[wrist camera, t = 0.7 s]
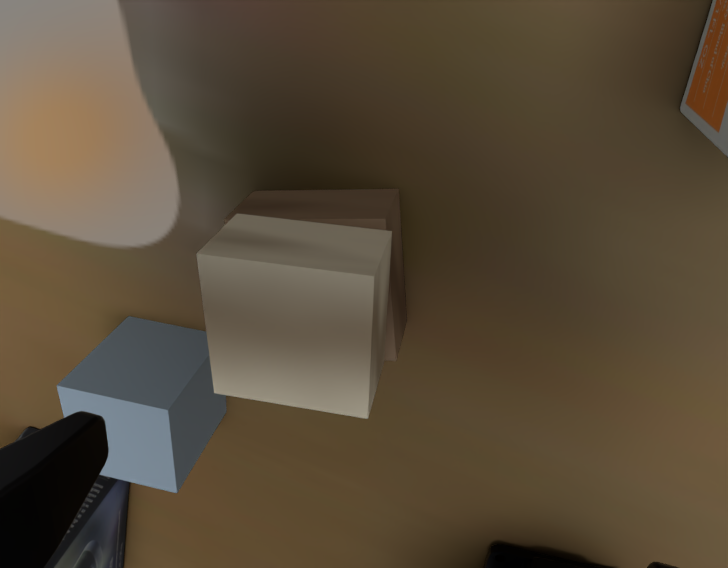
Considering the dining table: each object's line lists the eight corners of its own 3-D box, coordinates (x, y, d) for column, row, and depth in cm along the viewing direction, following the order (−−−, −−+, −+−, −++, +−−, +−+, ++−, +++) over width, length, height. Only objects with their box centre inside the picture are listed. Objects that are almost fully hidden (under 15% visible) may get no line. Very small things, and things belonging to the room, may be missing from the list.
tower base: (407, 316, 23) (396, 360, 21) (279, 312, 25) (253, 353, 22) (399, 186, 21) (385, 218, 18) (256, 188, 22) (223, 219, 19)
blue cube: (227, 410, 28) (177, 493, 24) (139, 391, 28) (76, 468, 24) (223, 334, 26) (167, 410, 21) (129, 315, 26) (56, 385, 22)
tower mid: (384, 362, 21) (367, 418, 18) (247, 341, 22) (214, 393, 19) (392, 231, 18) (374, 276, 16) (236, 213, 19) (196, 253, 17)
